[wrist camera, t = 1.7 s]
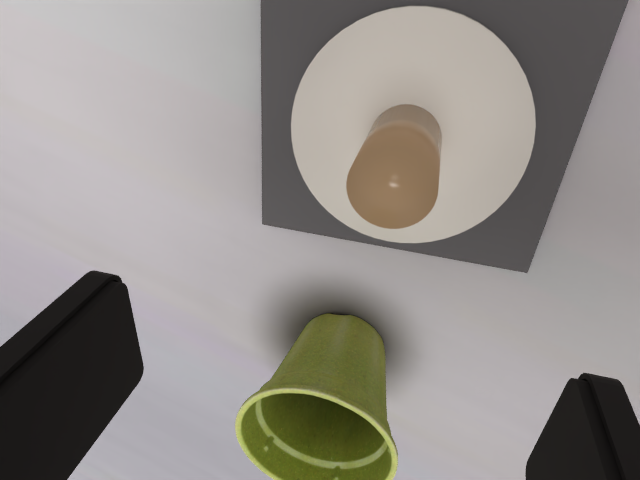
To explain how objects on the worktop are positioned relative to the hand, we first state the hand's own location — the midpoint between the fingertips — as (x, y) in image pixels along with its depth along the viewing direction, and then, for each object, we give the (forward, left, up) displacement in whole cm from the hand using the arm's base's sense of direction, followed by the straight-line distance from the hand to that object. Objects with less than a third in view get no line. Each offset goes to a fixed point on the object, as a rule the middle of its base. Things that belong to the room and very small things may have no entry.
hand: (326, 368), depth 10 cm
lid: (0, 0, -17) cm, 17 cm away
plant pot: (+2, +16, -18) cm, 24 cm away
